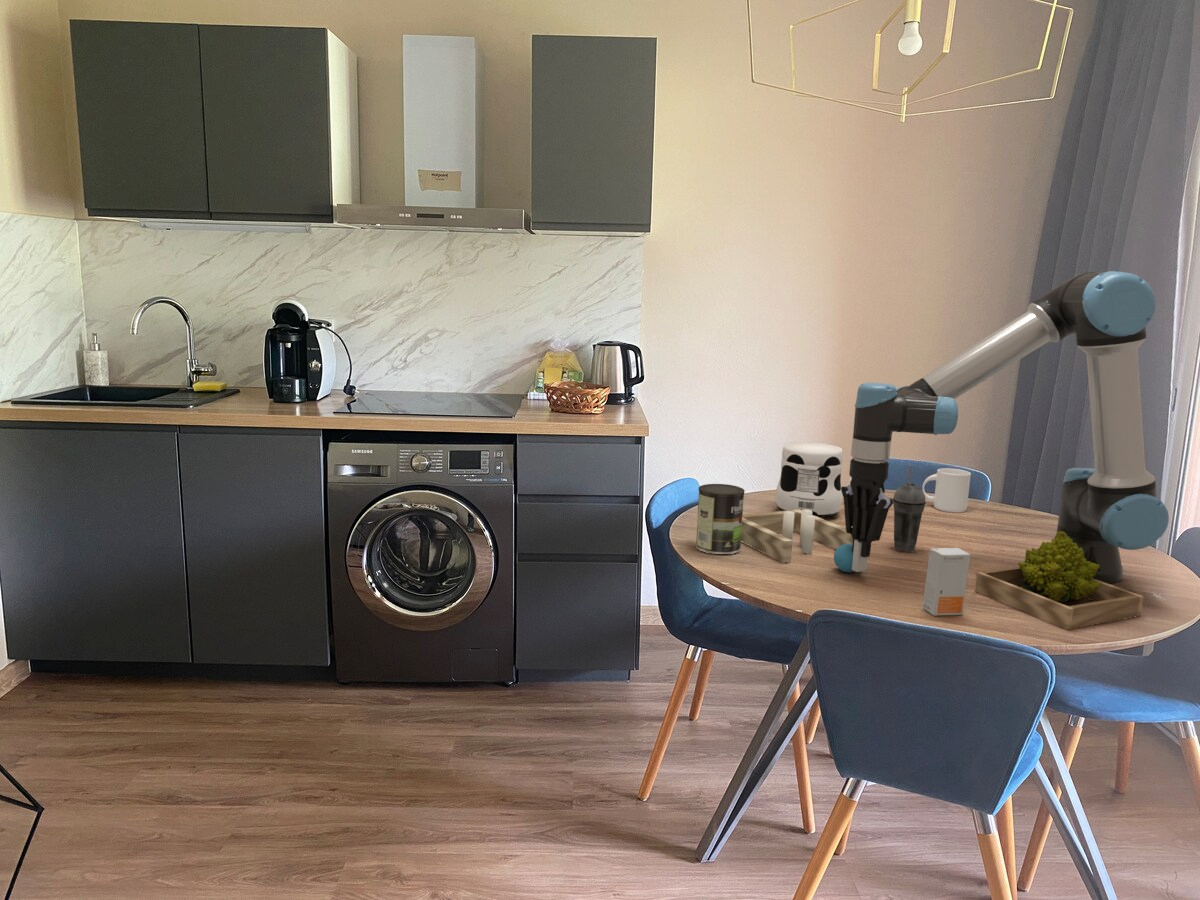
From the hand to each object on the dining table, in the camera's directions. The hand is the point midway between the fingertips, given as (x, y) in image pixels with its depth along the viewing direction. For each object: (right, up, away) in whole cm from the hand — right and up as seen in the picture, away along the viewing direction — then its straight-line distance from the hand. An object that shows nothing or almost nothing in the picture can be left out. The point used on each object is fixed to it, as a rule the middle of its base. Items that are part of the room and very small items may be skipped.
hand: (859, 570), depth 182 cm
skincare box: (+11, -6, -18) cm, 21 cm away
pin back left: (-11, +2, +19) cm, 22 cm away
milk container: (+1, +8, +51) cm, 52 cm away
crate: (+35, -5, -11) cm, 37 cm away
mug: (+42, +9, +62) cm, 75 cm away
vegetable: (+36, -4, -8) cm, 37 cm away
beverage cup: (+17, +2, +22) cm, 28 cm away
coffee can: (-27, +2, +17) cm, 32 cm away
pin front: (-7, +2, +16) cm, 18 cm away
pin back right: (-6, +3, +21) cm, 22 cm away
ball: (-1, +2, +3) cm, 4 cm away
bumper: (-9, +3, +22) cm, 24 cm away
